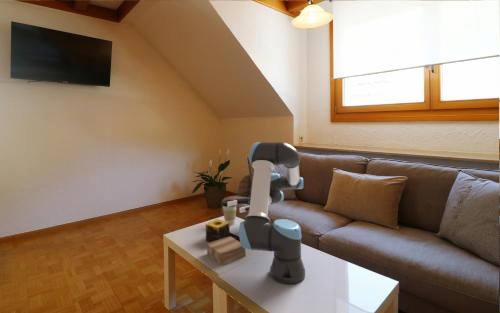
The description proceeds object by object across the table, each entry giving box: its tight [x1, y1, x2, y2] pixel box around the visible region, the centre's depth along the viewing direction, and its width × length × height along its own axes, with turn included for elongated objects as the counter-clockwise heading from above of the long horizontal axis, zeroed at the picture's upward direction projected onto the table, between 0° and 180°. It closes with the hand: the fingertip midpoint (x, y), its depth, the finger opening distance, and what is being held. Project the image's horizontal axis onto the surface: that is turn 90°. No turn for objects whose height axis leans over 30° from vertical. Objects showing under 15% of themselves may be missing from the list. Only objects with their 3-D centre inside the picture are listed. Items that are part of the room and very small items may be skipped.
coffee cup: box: [222, 199, 237, 226], centre depth 176 cm, size 10×10×15 cm
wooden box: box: [206, 235, 247, 266], centre depth 135 cm, size 14×14×6 cm
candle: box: [205, 218, 231, 243], centre depth 152 cm, size 10×10×10 cm
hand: (233, 207), depth 157 cm, fingers open, 13 cm apart
